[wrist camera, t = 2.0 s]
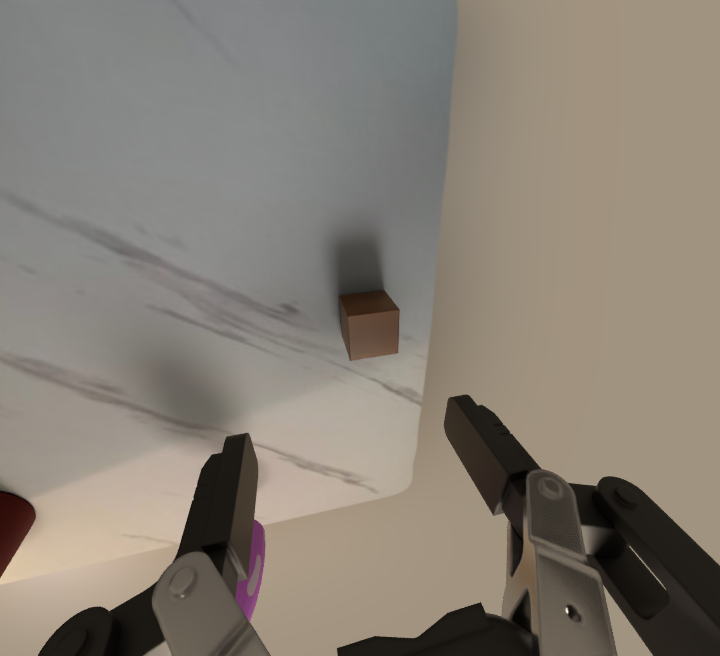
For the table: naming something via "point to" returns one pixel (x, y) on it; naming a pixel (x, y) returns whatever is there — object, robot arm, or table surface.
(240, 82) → the table surface
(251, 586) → the toy
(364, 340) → the block
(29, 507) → the mug
